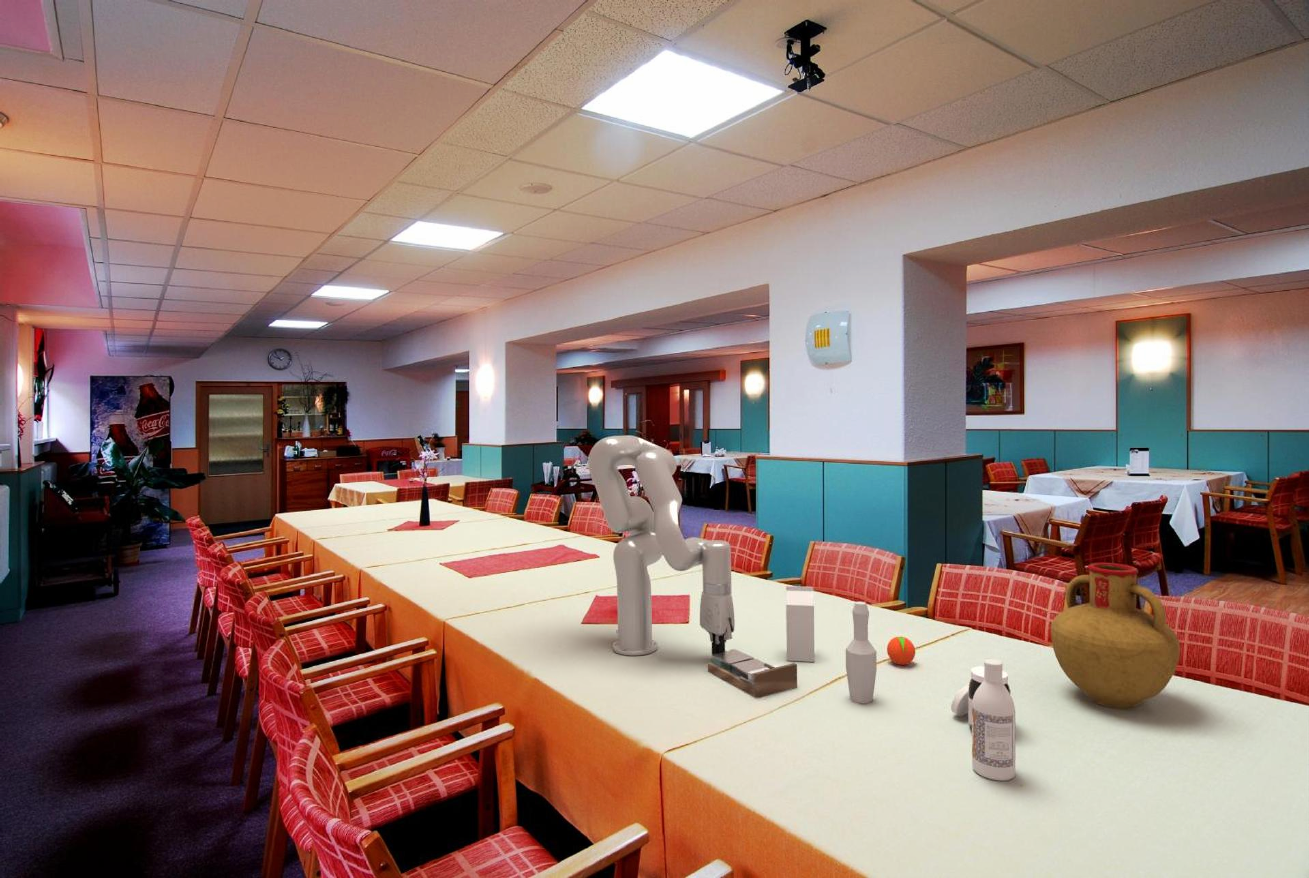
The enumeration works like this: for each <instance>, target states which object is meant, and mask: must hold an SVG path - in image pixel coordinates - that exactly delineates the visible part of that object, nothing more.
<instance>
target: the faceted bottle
mask: <svg viewBox="0 0 1309 878" xmlns="http://www.w3.org/2000/svg"><path fill="white" fill-rule="evenodd" d="M869 618H870V611H869V609H868V605H867V602H865V601H856V602H854V605H853V608H852V620H853V621H852V622H853V638H852V640H850V643H849V644H848V645H847V646H846V648H845V672H846V677H847V684H848V692H849V699H851V700H852V701H853V702H854V703H858V704H861V705H862V704H870V703H871V702H872V701H874V694H875V693H874V692H875V685H876V677H877V667H878V665H877V661H878V660H877V650H876V649H875V647H874V645H873V644H872V643H871V641H870V640H869V620H870V619H869Z"/></svg>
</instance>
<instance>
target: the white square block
mask: <svg viewBox="0 0 1309 878" xmlns="http://www.w3.org/2000/svg"><path fill="white" fill-rule="evenodd" d="M765 663H766V662H763V661H762V660H760V659H757V658H754V660H749V661H744V662H739V663H734V664H731V666H732V674H734V675H736V676H738V677H743V678H745V679H747V680H748V672H750V671H754V670H758V669H762V668H766V667H765V666H764V664H765Z"/></svg>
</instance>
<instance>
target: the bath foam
mask: <svg viewBox="0 0 1309 878" xmlns="http://www.w3.org/2000/svg"><path fill="white" fill-rule="evenodd" d="M983 664H984V665H983V666H984V681H983V682H982V684H981V685H980V686H979V687H978V689H977V690H976V692H975V694H974V697H973V701H972V728H971V757H972V759H971V761H972V763H971V764H972V768H973V770H974V771H975V772H976V774H978V775H980V776H981V777H983V778H986V779H988V780H989V779H990V780H993V781H1001V782H1003V781H1009V780H1012V779H1013V778H1014V777H1015V776H1016V707H1015V703H1014V700H1013V698H1012V695H1010V694H1011V692H1010V693H1009V692H1008V690H1007V689H1006V687H1005V686H1004V684H1003V683H1002V670H1003V663H1002V661H1000V660H998V659H994V658H993V659H992V658H989V659H987V658H986V659H985V660H984V662H983Z"/></svg>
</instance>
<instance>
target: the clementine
mask: <svg viewBox="0 0 1309 878" xmlns="http://www.w3.org/2000/svg"><path fill="white" fill-rule="evenodd" d="M886 651H887V655H888V657H889V659H890V660H891V661H892V662H893V663H895V664H898V665H901V666H902V665H908V664H910V663H911V662H912V661H913V660H914V658H915V656H916V648H915V645H914V643H913V642H912V640H910V639H908V638H907V637H904V636H895V637H893V638H891V639H890V641H889V642H888V644H887V647H886Z"/></svg>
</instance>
